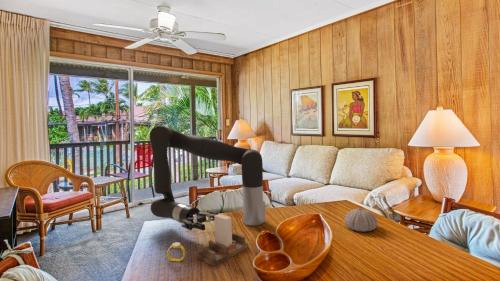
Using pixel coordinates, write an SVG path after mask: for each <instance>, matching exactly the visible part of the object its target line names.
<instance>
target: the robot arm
mask: <svg viewBox="0 0 500 281" xmlns="http://www.w3.org/2000/svg"><path fill="white" fill-rule="evenodd" d="M149 141H150V147H151V151H152V159H153V169H154V170H153V172H154V176H153V178H154V192H155V193H156V194H159V195H163V197H164V198H160V199H156V200H154V201H152V203H151V204H150V212H151V213H152V215H153V216H155V217H157V218H165V219H171V220H173V221H176V222H178V223H180V224H181V227H182V228H184V229H185V230H188V231H193V229H194V230H200V231H205V230H206V223H210V222H215V219H214V216H215V215H218V214H219V212H217V211H214V210H210V209H207V210H206V212H203V211H200V210H199V208H197V207H196V206H193V205H189V204H186V203H180V202H177V201H176V199H175V197H174V192H173V191H172V177H171V168H170V164H169V159H168V148H172V149H178V150H181V151H185V152H187V153H189V154H191V155H195V156H196V157H200V158H203V159H206V160H212V161H219V162H221V161H224V162H232V163H234V164H235V163H236V164H238V165H241V180H242V182H241V183H242V185H241V186H242V214H243V216H242V218H243V220H242V221H243V224H244V225H246V226H252V227H255V226H260V225H262V224H263V223H266V202H265V201H264V183H263V182H264V181H263V180H264V175H263V174H264V173H263V172H264V171H263V170H264V169H263V167H264V166H263V165H264V164H263V163H264V162H263V156H262V154H261V153H260V152H259V151H258V150H256V149H252V148H244V147H239V146H234V145H231V144H228V143H226V142H223V141H220V140H217V139H214V138H210V137H205V136H202V135H201V136H200V135H196V134H195V135H193V134H186V133H183V132H180V131H177V130H175V129H172V128H170V127H167V126H165V125H161V124H160V125H156V126H154V127H152V128H151V129H150V132H149Z"/></svg>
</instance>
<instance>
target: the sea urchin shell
mask: <svg viewBox="0 0 500 281" xmlns="http://www.w3.org/2000/svg"><path fill="white" fill-rule="evenodd" d="M344 224H345V226H347V228H348V229H350V230H352V231H357V232H370V231H373V230H376V229H377V227H378V219H377V218H376V216H375V215H374V214H373V213H372V212H371V211H369V210H367V209H363V208H354V209H352V210H350V211H348V212H347V213H346V214H345V216H344Z"/></svg>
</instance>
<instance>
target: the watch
mask: <svg viewBox="0 0 500 281" xmlns="http://www.w3.org/2000/svg"><path fill="white" fill-rule="evenodd" d="M172 248H174V249H176V248H180V249H181V251H182V252H183V253H182V254H183V255H182V257H181V258H173V257H172V256H171V255H170V249H172ZM166 256H167V259H168V260H170V261H171V262H178V263H180V262H181V261H183V260H184V258H185V256H186V249H185V247H184V245H181V242H178V241H175V242H173V243H172V244H171V245H170V246H169V247H168V249H167V252H166Z"/></svg>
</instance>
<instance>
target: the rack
mask: <svg viewBox="0 0 500 281" xmlns="http://www.w3.org/2000/svg"><path fill="white" fill-rule="evenodd" d="M248 248H249V243H248V242H246V236H245V235H242V234H239V233H237V232H234V231H232V244H231V245H229V246H228V247H227V250H228V253H226V246H223V245H221V244H218V243H216V242H215V241H214V240H209V241H208V246H207V247H204V246H202V245H197V251H196V252H195V253H194V257H195V258H196V259H198V260H200V261H202V262H204V263H206V264H208V265H209V266H212V267H215V268H216V267H217V266H219V265H221V264H222V263H223V262H226V261H227V260H229V259H231V258H232V257H234V256H236V255H237V254H239V253H241V252H242V251H244V250H246V249H248Z"/></svg>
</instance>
